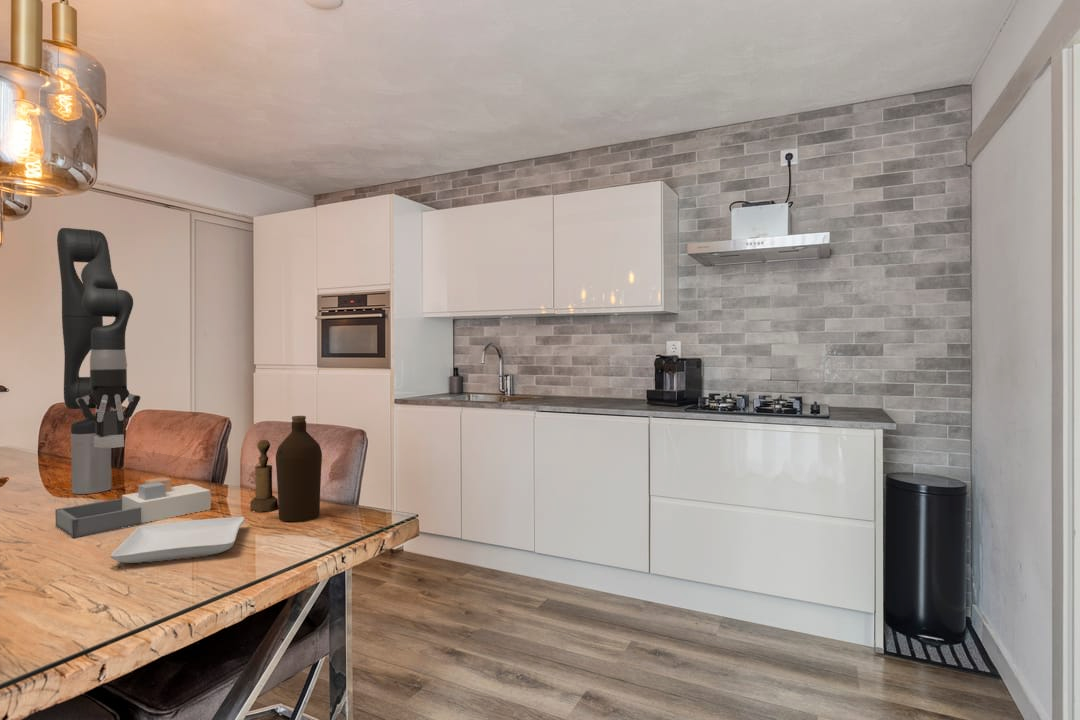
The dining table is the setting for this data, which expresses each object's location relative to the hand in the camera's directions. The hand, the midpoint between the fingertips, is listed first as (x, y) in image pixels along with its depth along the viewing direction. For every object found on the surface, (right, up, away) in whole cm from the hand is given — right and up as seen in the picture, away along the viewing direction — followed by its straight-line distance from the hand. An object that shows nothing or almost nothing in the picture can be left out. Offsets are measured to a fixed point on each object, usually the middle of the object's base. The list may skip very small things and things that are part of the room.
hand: (109, 435), depth 151 cm
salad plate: (+34, -21, -25) cm, 47 cm away
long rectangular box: (+14, -20, +1) cm, 24 cm away
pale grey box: (+13, -15, -4) cm, 20 cm away
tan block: (+11, -15, +2) cm, 19 cm away
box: (+5, -20, -11) cm, 23 cm away
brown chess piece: (+37, -20, +4) cm, 42 cm away
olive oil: (+49, -20, -3) cm, 53 cm away
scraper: (0, -3, 0) cm, 3 cm away
